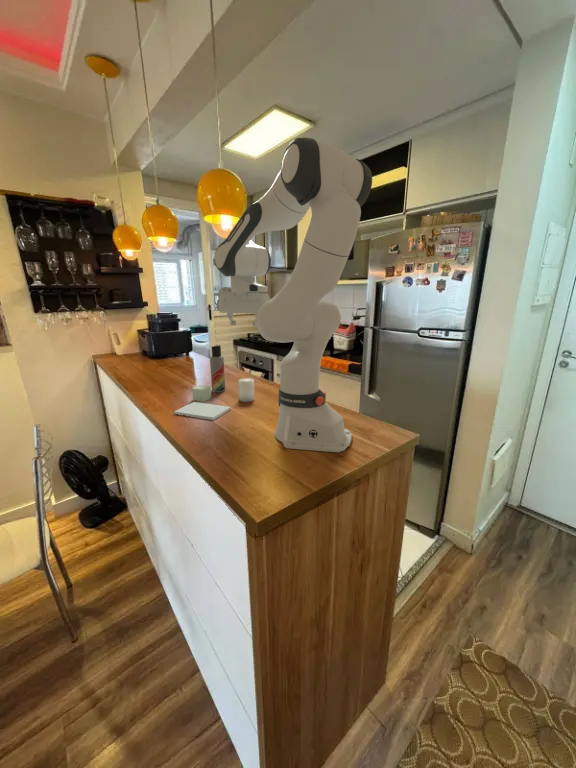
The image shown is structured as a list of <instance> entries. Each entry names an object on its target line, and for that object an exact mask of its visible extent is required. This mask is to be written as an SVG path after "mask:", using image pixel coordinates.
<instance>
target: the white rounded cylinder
mask: <svg viewBox="0 0 576 768" xmlns="http://www.w3.org/2000/svg"><path fill="white" fill-rule="evenodd" d="M238 397H239V398H238V399H239V401H240V402H243V403H249V402H253V401H254V400H255V379H254V378H248V377H247V378H245V377H244V378H240V379H238Z"/></svg>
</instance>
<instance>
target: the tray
mask: <svg viewBox="0 0 576 768" xmlns="http://www.w3.org/2000/svg"><path fill="white" fill-rule="evenodd" d="M231 410H232V407H231V406H227V405H220V404H219V405H218V404H211V403H205V402H200V401H193V402H191V403H189V404H187V405H185V406H183V407H180V408H179V409H176V410H174V415H177V414H178V416H183V415H185V416H184V417H189V416H190V417H189V418H197V419H203V420H208V421H210V420H211V421H215V420H216V419H219V418H220V417H221V416H223V415H225V414H226V413H228V412H229V411H231Z"/></svg>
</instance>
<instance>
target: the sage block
mask: <svg viewBox="0 0 576 768" xmlns="http://www.w3.org/2000/svg"><path fill="white" fill-rule="evenodd" d="M191 390H192V391H191V392H192V401H195V400H197V401H196V402H202V401H204V402H206V401H208V400H210V399H211V398H212V388H211V385H202V384H199V385H197V386H194V387H192V388H191Z"/></svg>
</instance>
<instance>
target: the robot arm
mask: <svg viewBox="0 0 576 768" xmlns="http://www.w3.org/2000/svg"><path fill="white" fill-rule="evenodd" d="M372 186H373V174H372V171H371V169H370V168H369V167H368V165H367V164H366V163H364V162H363V161H362V160H361V159H359V158H355V157H354V156H351V155H350V154H349V153H346V152H344V151H342V150H341V149H340V148H338V147H337V146H334V145H331V144H327V143H324V142H320V141H317V140H316V139H314V138H312V137H307V136H306V137H304V136H303V137H301V136H300V137H296V138H294V139H293V140H291V142H290V143H289V144H288V146H287V147H286V149H285V150H284V154H283V157H282V160H281V164H280V171H279V173H278V174H277V176H276V178H275V180H274V182H273V183H272V185H271V187H270V188H269V190H267V192H266V193H265V194H264V195H263V196H262V197H261V198H259V199H258V200H256V201H255V202H253V203H251V204H250V205H249V206H247V208H246V210H245V211H244V212H243V213H242V214H241V216H240V218H239V219H238V221H237V222H236V223H235V225H234V227H233V229H232V230H231V231H230V232H229V234H228V235H227V237H226V238H224V240H223V241H222V242H221V243H220V244H219V245H218V246H217V247H216V250H215V254H214V264H215V267H216V269H217V270H218V271H219V272H220V273H221V274H222V275H223V276H224V277H230V279H229V281H230V286H229V287H220V289H219V290H218V292H217V293H218V304H217V305H218V307H217V310H218V312H219V313H223V314H226V316H227V318H228V319H229V322H230V324H229V325H230V326H237V320H235V319H234V317H233V316H234V314H253V315H254V316H255V319H254V320H253V321H252V326H253V327H257V330H258V332H259V334H260V336H261V337H262V338H263V339H265V340H266V341H267V342H275V343H282V344H283V343H284V344H285V343H292V342H293V345H292V347H291V349H290V350H289V352H288V353H287V354H286V355H285V356H284V357H283V358H282V359H281V362H280V365H279V370H280V371H279V374H280V375H279V378H280V379H279V382H280V383H279V384H280V385H279V386H280V388H278V397H277V399H278V407H279V412H278V419H277V425H276V429H275V432H274V436H275V437H274V438H276V440H278V441H279V442H281V443H282V445H283V446H284V448H286V449H293V450H301V451H302V450H303V451H316V452H328V453H341V451H342V452H343V451H345V450H346V448H347V447H348V446H349V447H350V445H351V443H352V441H353V439H352V437H353V435H352V432H351V431H350V430H349V429H348V428H345V423H344V419H343V417H342V415H341V414H340V413H338V412H337V410H335V409H334V408H332V407H331V406H330V405H329V404H328V403H326V400H327V399H326V397H327V391H326V390H325V391H324V392H323V391H322V390H321V389H320V375H321V374H320V372H321V363H322V359H323V355H324V352H325V349H326V348H327V345H328V343H329V341H330V339H331V338H332V336H333V335H334V334H335V333H336V332H337V331H338V329H339V327H340V325H341V324H340V323H341V313H340V310H339V308H338V306H337V305H335V303H333V302H330V301H327V300H324V299H323V298H324V297H325V296H326V295H328V294H329V293H331V292H333V290H334V289H335V288H336V287H337V285H338V283H339V281H340V278H341V276H342V273H343V271H344V269H345V267H346V264H347V261H348V259H349V256H350V254H351V251H352V249H353V246H354V243H355V239H356V237H357V232H358V229H359V224H360V220H361V216H362V215H361V214H362V210H361V207H362V206H364V204H365V203H366V201H367V200H368V198H369V195H370V193H371V189H372V188H373V187H372ZM309 209H310V210H311V218H310V222H309V225H308V228H307V230H306V233H305V236H304V239H303V241H302V242H303V243H302V246H301V248H300V250H299V251H300V252H299V255H298V257H297V261H296V263H295V266H294V268H293V271H292V272H291V275H290V276H289V278H288V279H287V281H286V282H285V284H284V285H283V286H282V288H281V289H280V290H279V291H278V292H277V293H276V294H275V295H274V296H273V297H272V298H270V296H269V294H268V293H267V292H268V291H269V288H268V286H267V285H263V284H262V283H259V282H256V278H255V277H264V276H266V274H268V273H269V272H270V269H271V267H272V257H271V254H270V252H269V250H268V249H267V248H266V247H265V246H264V247H263V246H262V245H258V244H256V243H254V241H253V238H255V237H256V236H258V235H260V234H263V233H269V232H275V231H285V230H290V229H293V228H294V227H296V226H297V225H298V224H299V223H300V222H301V221H302V220H303V218H304V217H305V216H306V214H307V213H308V212H309V211H308V210H309ZM349 447H348V448H349ZM348 448H347V449H348Z"/></svg>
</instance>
